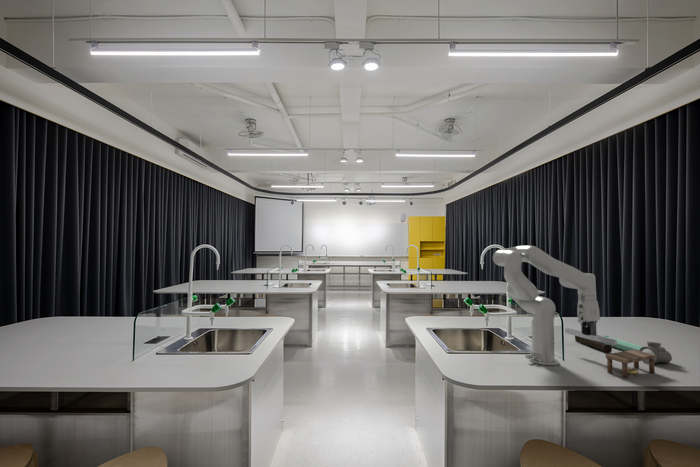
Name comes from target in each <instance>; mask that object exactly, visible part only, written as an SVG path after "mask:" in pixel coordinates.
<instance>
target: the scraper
mask: <svg viewBox="0 0 700 467" xmlns="http://www.w3.org/2000/svg"><path fill="white" fill-rule="evenodd" d="M585 324H586V322H585ZM580 327H581V330H578V329H574V328H569V327H566V328H564V333H565V334H568V335H571V336H574V337H575V336H579V337H583V338H586V339H590V340H594V341H598V342H602V343H606V344H610V345H613V346H615V345H617V340H615V339H616V338H615V339H611V338H612V337H611V338H607V337H603V336H604V335H598V332H597V323H596V322H592V321H591V322H588V327H589V333H590V335H589V336H588V335H584V334H582V326H581V325H580Z"/></svg>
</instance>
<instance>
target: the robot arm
mask: <svg viewBox="0 0 700 467" xmlns="http://www.w3.org/2000/svg"><path fill="white" fill-rule="evenodd" d="M492 261H493V263H494V264H495V265H497V266H499V267H504V268H503V278H504V281H505V282H506V283H507V290H506V291H507V293H508V296H509V297H510V298H511V300H513V301H514V302H515V303H516V304H517V305H518V306H519V308H521V309H522V310H523V311H524V312H527V313H529V314H533V318H532V320H531V349H532V350H531V351H530V353H528V354H525V355H524V357H525V359H527V360H528V359H529V361H531V362H532V363H535V364H539V365H543V366H557V365H559V359H557V358H555V356H556V355H555V351H556V350H555V327H554V326H555V325H554V324H555V322H554V321H555V315H556V310H557V309H556V308H557V307H556V305H555V302H554V301H552V299H550V298H547V297H546V296H541V295H539V291H538V288H537V287H536V286H535V285H534V283H533V282H532V281H530V279H529V278H527V276H526V275H525V274H524V273H523V271H522V263H523V262H524V263H528V264H530V265H532V266H533V267H534V268H536V269H538V270H539V271H541V272H542V273H543V274H545V275H546V274H547V275H549V276H552V277H556V278H558V279H559V280H558V282H559V284H560V285H561V286H563V287H564V288H568V289H575V290H577V299H578V301H577V308H576V310H577V312H576V313H577V323H579V324H580V327H581V326H582V330H581V331H582V334H584V335H588V336H589V335H590V333H589V327H588V322H591V321H592V322H596V324H597V322H598V321H600V319H601V313H600V307H599V302H598V300H597V288H596V287H597V286H596V285H597V283H596V282H597V281H596V275H595V274H594V273H588V272H583V271H581V270H579V269H577V267H574V266H573V265H569V264H568V263H565V262H562V261H561V260H558V259H556V258H554V257H552V256H551V255H549V254H548V253H547V252H545V251H544V250H542V249H540V247H539V248H538V247H537V246H536V245H535V246H534V245H517V246H513V247H508V248H502V249H498V250H496V251H495V252H494V253H493V255H492ZM585 322H586V324H585Z"/></svg>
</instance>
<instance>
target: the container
mask: <svg viewBox="0 0 700 467" xmlns="http://www.w3.org/2000/svg"><path fill="white" fill-rule="evenodd" d="M602 336H603V337H607V338H611V339H615V340H617V345H615V346H613V345H611V346H612V348H614V349H617V350H620V351H622V352H623V351H629V350H638V351H639V350H640V348H641V347H643V346H641V345H637V344H635V343H631V342H628V341H624V340H621V339H617V338H614V337H611V336H610V335H602ZM604 344H606V343H604ZM609 345H610V344H609Z"/></svg>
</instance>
